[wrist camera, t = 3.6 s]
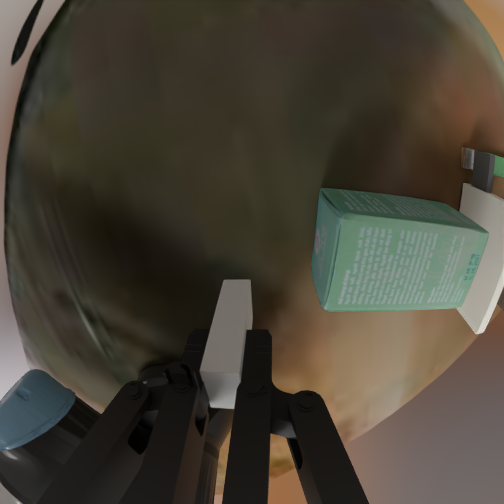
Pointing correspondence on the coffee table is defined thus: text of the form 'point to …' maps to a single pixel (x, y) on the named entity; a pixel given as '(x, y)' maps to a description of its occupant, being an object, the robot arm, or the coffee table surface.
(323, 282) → the box
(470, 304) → the plunger
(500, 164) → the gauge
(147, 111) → the coffee table surface
